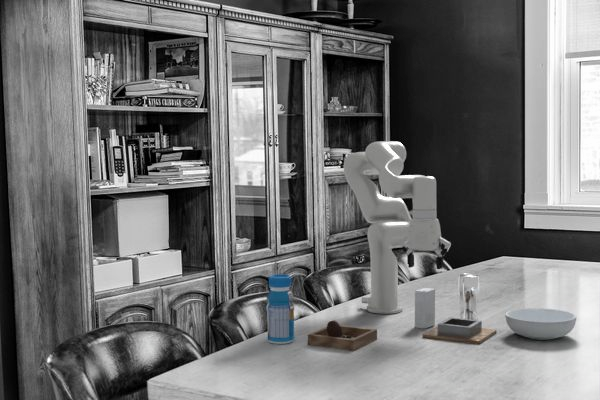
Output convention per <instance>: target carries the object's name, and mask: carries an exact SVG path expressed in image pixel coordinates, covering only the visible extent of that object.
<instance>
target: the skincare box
mask: <svg viewBox="0 0 600 400" xmlns="http://www.w3.org/2000/svg"><path fill="white" fill-rule="evenodd" d="M435 325H436V289H435V288H430V287H429V288H428V287H423V288H420V289H417V290H416V289H415V290H414V327H415V328H418V329H428V328H431V327H434V326H435Z"/></svg>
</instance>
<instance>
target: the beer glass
mask: <svg viewBox="0 0 600 400" xmlns="http://www.w3.org/2000/svg"><path fill="white" fill-rule="evenodd" d="M479 277H480V276H479V274H477V273H460V274H458V281H457V282H458V283H457V285H458V286H457V293H458V299H459V305H460V311H459V312H460V313H459V314H460V315H459V318H460V319H470V320H479V316H478V309H477V308H478V302H479V295H480V278H479Z"/></svg>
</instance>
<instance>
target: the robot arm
mask: <svg viewBox="0 0 600 400" xmlns="http://www.w3.org/2000/svg"><path fill="white" fill-rule="evenodd" d="M406 159H407V150H406V147H405V145H403V144H402V143H401V142H400V141H395V140H394V141H393V140H391V141H389V140H386V141H385V140H384V141H382V140H381V141H374V142H371V143H370V144H368V145H367V147H366V148H365V151H358V152H352V153H350V154H348V155H346V157H345V159H344V161H343V173H344V177H345V179H346V182H347V184H348V185H349V188H351V190H352V192H353V193H354V195H355V198H356V201H357V203H358V205H359V207H360V208H359V209H360V210H361V213H362V216H363V217H364V220H365V221H366V222H367V223H368V224H369V223H370V224H371V225H370V226H369V227H368V229H367V235H366V236H367V241H368V247H369V254H370V256H369V258H370V296H369V297H367V296H366V297H365V296H362V297H361V303H362V304H367V306H366V311H367V312H369V313H372V314H377V315H378V314H380V315H386V314H387V315H388V314H389V315H390V314H391V315H392V314H398V313H401V312H403V306H401V305H399V291H398V290H399V269H398V268H399V267H398V265H399V263H398V258H397V256H396V255H395V253H394V252H393V251H392V250H393V249H397V248H401V249H402V250H403V252H404V253H405V254H406V257H407V261H406V262H407V265H408V268H410V269H411V268H413V267H415V255H414V252H415V251H421V252H422V251H424V252H434V253H435V254H436V259H435V260H436V261H435V262H436V265H435V266H436V269H437V270H442V269H443V267H444V256H445V255H446V254H447V253H448V252H449V249H450V248H451V245H452V243H451V241H448V240H447V239H445V238H444V237H442V232H441V224H440V221H439V219H438V218H437V217H438V216H437V180H436V177H434V176H430V175H427V176H425V175H422V174H413V175H412V174H408V175H407V174H404V175H403V174H402V172H403V170H404V165H405V164H404V162H405V160H406ZM401 174H402V175H401ZM368 175H369V176H372V175H374V176H375V175H377V176H378V183H379V186H380V189H382V191H383V192H384V193H385V194H386V195H388V196H384V195H381V192H380V190H379V188H378V186H377V185H376V183H375V182H374V181H373V180H371V179H370V178H369V177H367V176H368ZM403 199H412V209H411V210H409V209H408V206H407V205H406V203H405V202H404V200H403ZM442 244H443V245H444V248H443V249H442Z"/></svg>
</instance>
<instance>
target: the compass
mask: <svg viewBox="0 0 600 400" xmlns="http://www.w3.org/2000/svg"><path fill="white" fill-rule="evenodd" d="M340 325H341V324H340V323H338V322H337V321H336V320H335V319H334V320H330V321H328V322H327V324H326V327H327V332H328V335H329V336H331V337H339V338H347V339H353V338H354V337H351V336H346V335H343V336H342V330H341V327H340Z"/></svg>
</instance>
